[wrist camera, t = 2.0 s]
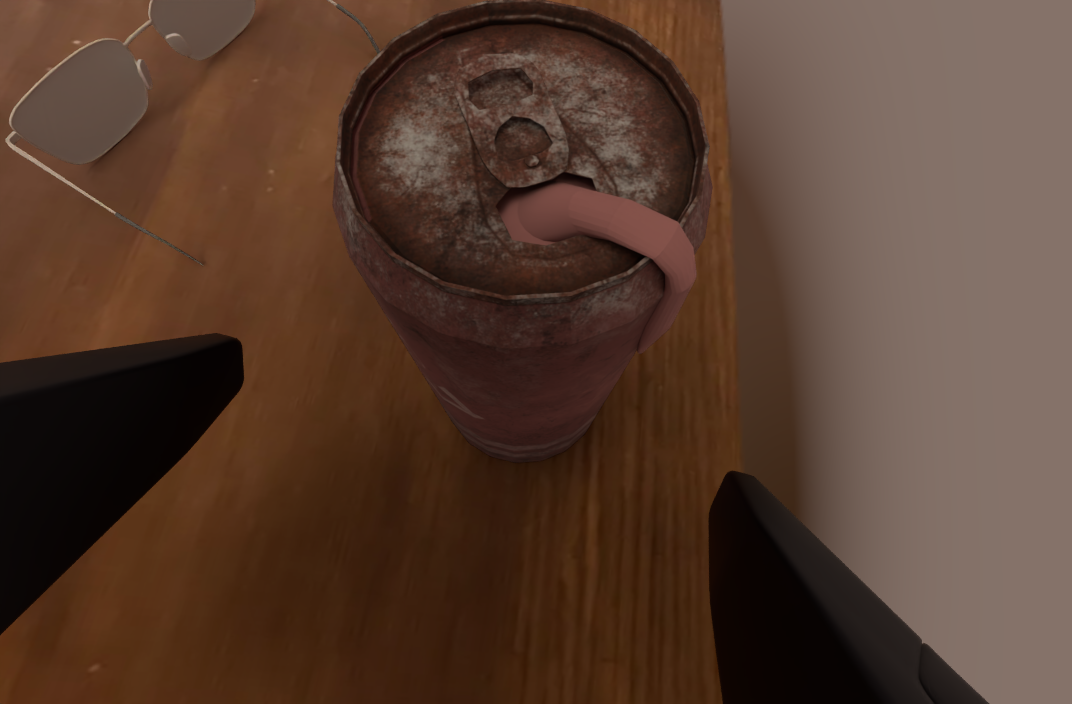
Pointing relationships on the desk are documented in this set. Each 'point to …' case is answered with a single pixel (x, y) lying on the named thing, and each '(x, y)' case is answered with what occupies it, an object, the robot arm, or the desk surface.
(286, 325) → the desk surface
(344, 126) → the can
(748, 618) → the robot arm
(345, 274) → the desk surface
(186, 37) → the eyeglasses
